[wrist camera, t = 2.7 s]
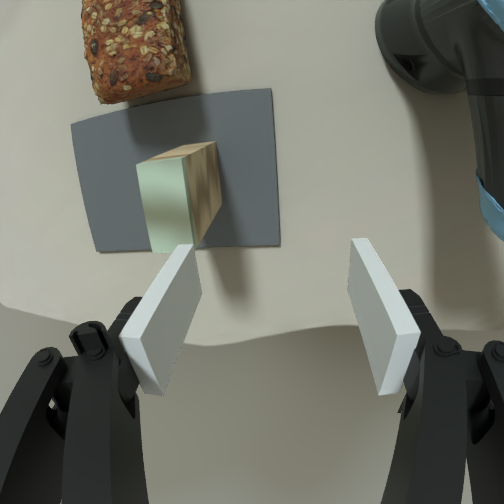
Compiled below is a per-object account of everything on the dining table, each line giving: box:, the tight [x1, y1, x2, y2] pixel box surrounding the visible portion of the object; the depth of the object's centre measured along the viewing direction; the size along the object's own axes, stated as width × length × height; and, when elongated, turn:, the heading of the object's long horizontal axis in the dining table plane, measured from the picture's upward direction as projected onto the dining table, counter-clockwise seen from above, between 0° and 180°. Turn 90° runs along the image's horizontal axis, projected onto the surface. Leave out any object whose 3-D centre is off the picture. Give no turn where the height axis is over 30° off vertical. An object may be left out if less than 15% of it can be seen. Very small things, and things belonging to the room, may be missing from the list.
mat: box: [71, 88, 280, 252], centre depth 38 cm, size 20×28×1 cm
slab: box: [136, 141, 222, 253], centre depth 31 cm, size 8×4×14 cm, turn 4°
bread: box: [81, 0, 191, 105], centre depth 25 cm, size 19×11×10 cm, turn 9°
